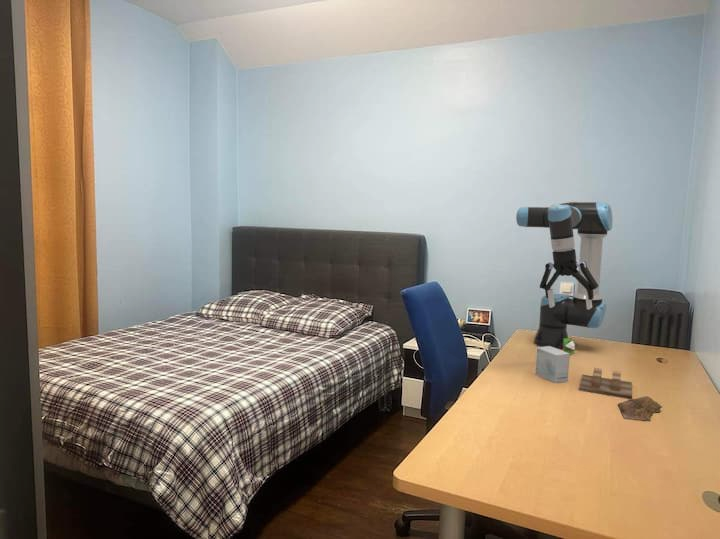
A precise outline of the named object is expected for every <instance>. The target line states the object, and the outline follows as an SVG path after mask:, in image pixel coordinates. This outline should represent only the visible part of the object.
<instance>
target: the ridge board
mask: <svg viewBox="0 0 720 539" xmlns="http://www.w3.org/2000/svg"><path fill="white" fill-rule="evenodd" d="M602 372H603V369H602V368H597V367H594V368H593V371H592V375H588V374H582V375H581V380H580V383H579V387H578V391H581V392H587V393H593V394H599V395H605V396H611V397H617V398H622V399H627V400H632V399H633V383H632V381H627V380H621V379H622V378H621V375H622V374H621V373H622V372H621V371H618V370H612V376H611V378H607V377H602Z"/></svg>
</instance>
